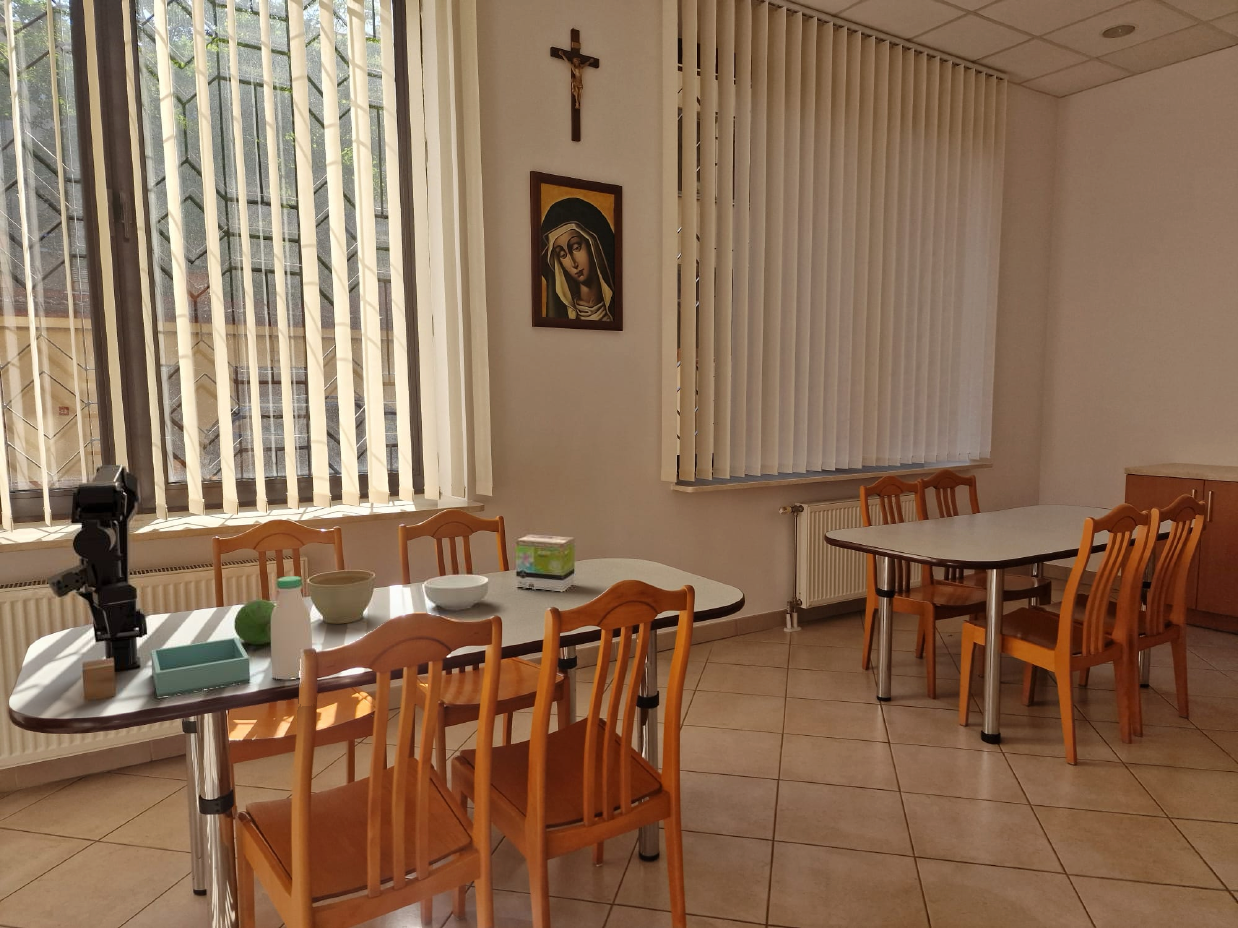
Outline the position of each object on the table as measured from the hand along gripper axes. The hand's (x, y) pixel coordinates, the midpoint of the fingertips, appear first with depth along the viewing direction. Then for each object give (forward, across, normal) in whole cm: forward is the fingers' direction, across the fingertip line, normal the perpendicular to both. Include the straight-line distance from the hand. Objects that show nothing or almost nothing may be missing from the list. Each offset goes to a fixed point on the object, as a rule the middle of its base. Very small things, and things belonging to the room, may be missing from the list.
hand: (106, 632), depth 152 cm
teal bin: (+12, +2, +15) cm, 20 cm away
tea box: (+12, -5, +114) cm, 114 cm away
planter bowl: (+12, -17, +56) cm, 60 cm away
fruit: (+12, -11, +33) cm, 37 cm away
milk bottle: (+12, +14, +29) cm, 35 cm away
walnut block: (+12, -2, -1) cm, 13 cm away
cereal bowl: (+12, -6, +83) cm, 84 cm away
